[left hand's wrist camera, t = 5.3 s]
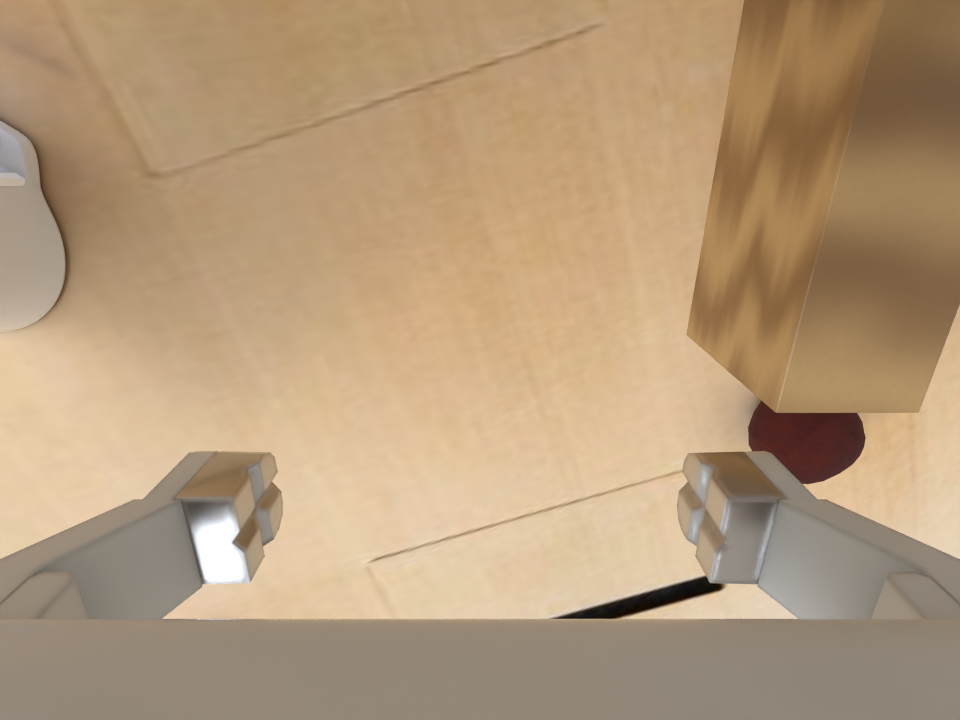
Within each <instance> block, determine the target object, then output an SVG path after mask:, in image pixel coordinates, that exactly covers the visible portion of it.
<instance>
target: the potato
mask: <svg viewBox="0 0 960 720" xmlns="http://www.w3.org/2000/svg"><path fill="white" fill-rule="evenodd" d="M748 432H749V446H750V448H751V449H752V451H766V452H769V453H772V454H773V455H774V456H775V457H776V458H777V459H778V460H779V461H780V462H781V463H782V464H783V465H784V466H785V467H786V468H787V469H788V470H789V471H790V472H791V473H792V474H793V475H794V476H795V477H796V478H797V479H798V480H799V481H800V482H801V483H802V484H811V483H816V482H821V481H824V480H827V479H829V478H831V477H833V476H835V475H837V474H839V473H841V472H842V471H844V470H845V469H847V468H848V467H849V466H851V465H852V464H853V463H854V462H855V461H856V460H857V458H858V457H859V456H860V454H861V452H862V450H863V448H864V444H865V434H864V429H863V424H862V421H861V419H860V417H859V416H858V414H857V413H776V412H774V411H773V410H772V409H771V408H770V407H769V406H767V405H766V404H765V403H764V402H763V401H761V403H760V404H759V406H758V407H757V408H756V410H755V411H754V413H753V416H752V419H751V421H750V424H749V427H748Z"/></svg>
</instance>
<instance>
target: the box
mask: <svg viewBox="0 0 960 720" xmlns="http://www.w3.org/2000/svg"><path fill="white" fill-rule="evenodd" d="M959 305H960V0H744V6H743V11H742V17H741V23H740V29H739V35H738V40H737V46H736V52H735V58H734V63H733V69H732V75H731V81H730V87H729V92H728V98H727V104H726V110H725V115H724V121H723V127H722V133H721V138H720V144H719V150H718V156H717V162H716V167H715V173H714V179H713V185H712V190H711V196H710V202H709V208H708V214H707V219H706V225H705V231H704V237H703V242H702V248H701V254H700V260H699V266H698V271H697V277H696V283H695V289H694V294H693V300H692V306H691V312H690V317H689V323H688V329H687V336H688V337H690V338H691V339H692V340H693V341H694V342H695V343H696V344H698V345H699V346H700V347H701V348H702V349H703V350H704V351H706V352H707V353H708V354H709V355H710V356H711V357H712V358H714V359H715V360H716V361H717V362H718V363H719V364H720V365H722V366H723V367H724V368H725V369H726V370H727V371H728V372H730V373H731V374H732V375H733V376H734V377H735V378H737V379H738V380H739V381H740V382H741V383H742V384H743V385H745V386H746V387H747V388H748V389H749V390H750V391H751V392H753V393H754V394H755V395H756V396H757V397H758V398H759V399H761V400H762V401H763V402H764V403H765V404H766V405H767V406H769V407H770V408H771V409H772V410H773V411H774V412H776V413H917V412H919V410H920V407H921V405H922V402H923V400H924V397H925V394H926V392H927V389H928V386H929V384H930V381H931V378H932V376H933V373H934V371H935V368H936V365H937V363H938V360H939V357H940V355H941V352H942V350H943V347H944V344H945V342H946V339H947V336H948V334H949V331H950V328H951V326H952V323H953V321H954V318H955V315H956V313H957V310H958V307H959Z"/></svg>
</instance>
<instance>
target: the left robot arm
mask: <svg viewBox="0 0 960 720" xmlns="http://www.w3.org/2000/svg"><path fill="white" fill-rule="evenodd" d="M65 269H66V262H65V251H64V246H63V241H62V237H61V234H60V231H59V228H58V226H57V223H56V221H55V219H54V217H53V214H52V212H51V210H50V208H49V206H48V204H47V202H46V200H45V198H44V195H43V193H42V190H41V185H40V173H39V164H38V158H37V154H36V151H35V148H34V146H33V144H32V143H31V141H30V140H29V139H28V138H27V137H26V136H25V135H23V134H22V133H20V132H19V131H17V130H15V129H14V128H12V127H10V126H9V125H7V124H5V123H4V122H2V121H0V332H9V331H14V330H18V329H21V328H24V327H27V326H29V325H31V324H33V323H35V322H37V321H38V320H39V319H41V318H42V317H43V316H45V315H46V314H47V313H48V312H49V311H50V309H51V308H52V307H53V306H54V304H55V303H56V301H57V299H58V297H59V295H60V293H61V290H62V287H63V283H64V279H65ZM277 472H278V471H277V466H276V461H275V457H274V456H273V455H272V454H271V453H270V452H218V451H196V452H191V453H188V454H187V455H186V456H185V457H184V458H183V459H182V460H181V461H180V463H179V464H178V465H177V466H176V467H175V468H174V469H173V470H172V471H171V472H170V473H169V474H168V475H167V476H166V477H165V478H164V479H163V480H162V481H161V482H160V483H159V484H158V485H157V486H156V487H155V488H154V489H153V490H152V491H151V492H150V493H149V494H148V495H147V496H146V497H145V498H144V499H143V500H132V501H130V502H128V503H125V504H123V505H121V506H119V507H116V508H114V509H112V510H110V511H107V512H105V513H103V514H101V515H98V516H96V517H94V518H92V519H89V520H87V521H85V522H83V523H80V524H78V525H76V526H74V527H71V528H69V529H67V530H65V531H63V532H60V533H58V534H56V535H54V536H51V537H49V538H47V539H45V540H42V541H40V542H38V543H36V544H33V545H31V546H29V547H27V548H24V549H22V550H20V551H18V552H15V553H13V554H11V555H9V556H7V557H4V558H2V559H0V720H960V559H958V558H955V557H953V556H951V555H949V554H946V553H944V552H942V551H940V550H938V549H935V548H933V547H931V546H929V545H926V544H924V543H922V542H920V541H917V540H915V539H913V538H911V537H908V536H906V535H904V534H902V533H900V532H897V531H895V530H893V529H891V528H888V527H886V526H884V525H882V524H879V523H877V522H875V521H873V520H870V519H868V518H866V517H864V516H862V515H859V514H857V513H855V512H853V511H850V510H848V509H846V508H844V507H841V506H839V505H837V504H835V503H832V502H830V501H828V500H817V499H816V498H815V497H814V496H813V495H812V494H811V493H810V492H809V491H808V489H807V488H806V487H805V486H804V485H803V484H802V483H801V482H800V481H799V480H798V479H797V478H796V477H795V476H794V475H793V474H792V473H791V472H790V471H789V470H788V469H787V468H786V467H785V466H784V465H783V464H782V463H781V462H780V461H779V460H778V459H777V458H776V457H775V456H774V455H773V454H772V453H769V452H766V451H750V452H716V453H688V454H687V456H686V458H685V460H684V465H683V471H682V472H683V474H684V475H685V477H686V479H687V480H688V482H687V483H686V484H685V485H684V487H683V488H682V489H681V490H680V491H679V495H678V503H677V510H678V520H679V523H680V527H681V530H682V532H683V534H684V536H685V538H686V539H687V540H688V541H690V542H691V543H693V544H694V545H696V546H697V550H696V558H697V560H698V562H699V564H700V565H701V567H702V569H703V571H704V573H705V574H706V576H707V578H708V580H709V582H710V583H732V584H758V587H759V588H760V589H762V590H763V591H764V592H765V593H767V594H768V595H769V596H770V597H772V598H773V599H774V600H775V601H777V602H778V603H779V604H781V605H782V606H783V607H784V608H786V609H787V610H788V611H789V612H791V613H792V614H793V615H795V616H796V617H797V618H798V619H162V618H163V617H164V616H166V615H167V614H168V613H169V612H171V611H172V610H173V609H175V608H176V607H177V606H178V605H180V604H181V603H182V602H183V601H185V600H186V599H187V598H189V597H190V596H191V595H192V594H194V593H195V592H196V591H197V590H199V589H200V588H201V587H202V584H227V583H250V582H251V580H252V578H253V576H254V575H255V573H256V571H257V569H258V567H259V565H260V564H261V562H262V560H263V558H264V550H263V546H264V545H266V544H267V543H269V542H270V541H272V540H273V539H274V538H275V536H276V534H277V532H278V530H279V527H280V523H281V518H282V514H283V501H282V494H281V491H280V490H279V489H278V488H277V486H276V485H275V484H274V483H273V482H272V480H273V479H274V477H275V475H276V474H277Z"/></svg>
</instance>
